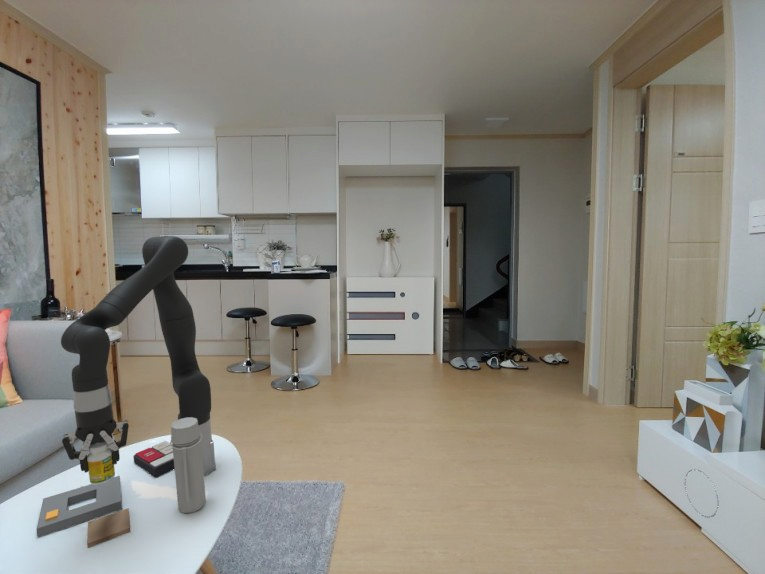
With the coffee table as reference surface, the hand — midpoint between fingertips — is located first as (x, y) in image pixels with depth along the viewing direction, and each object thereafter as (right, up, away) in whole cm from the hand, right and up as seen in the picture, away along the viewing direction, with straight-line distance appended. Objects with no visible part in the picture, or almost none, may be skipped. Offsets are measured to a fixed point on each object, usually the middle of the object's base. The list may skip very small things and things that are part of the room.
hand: (101, 466), depth 101 cm
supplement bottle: (0, -4, +1) cm, 4 cm away
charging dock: (-12, -16, +10) cm, 23 cm away
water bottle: (+18, -16, +10) cm, 26 cm away
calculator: (-2, -14, +32) cm, 35 cm away
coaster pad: (+1, -17, +2) cm, 17 cm away
